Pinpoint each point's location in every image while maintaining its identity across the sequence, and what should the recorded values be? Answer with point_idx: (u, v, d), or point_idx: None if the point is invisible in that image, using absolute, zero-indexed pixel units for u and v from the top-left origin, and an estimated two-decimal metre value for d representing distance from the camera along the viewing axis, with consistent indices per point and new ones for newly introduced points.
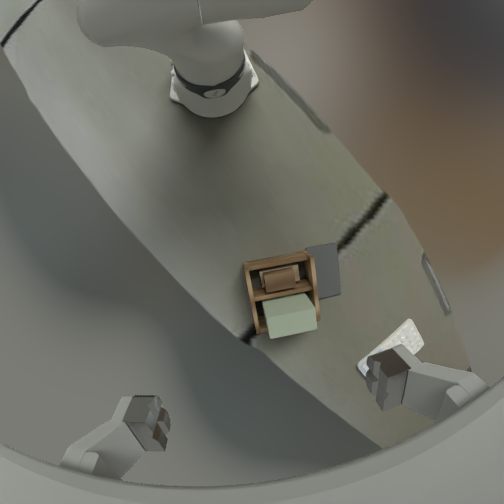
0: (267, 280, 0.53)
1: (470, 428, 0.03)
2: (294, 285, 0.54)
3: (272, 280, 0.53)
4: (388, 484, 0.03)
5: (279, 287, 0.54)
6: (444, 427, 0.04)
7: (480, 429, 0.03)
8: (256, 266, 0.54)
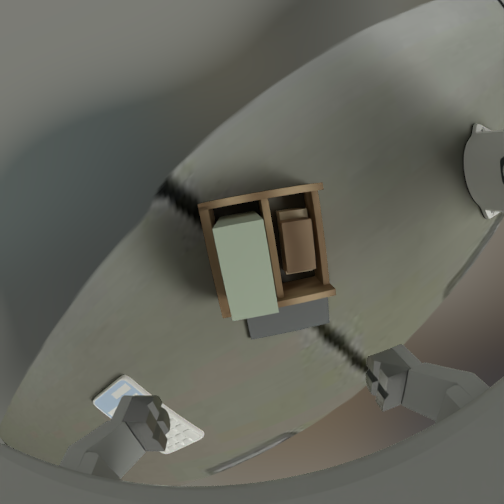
0: (303, 225, 0.31)
1: (470, 428, 0.03)
2: (290, 270, 0.32)
3: (302, 233, 0.31)
4: (388, 484, 0.03)
5: (289, 245, 0.31)
6: (444, 427, 0.04)
7: (480, 429, 0.03)
8: (317, 203, 0.32)
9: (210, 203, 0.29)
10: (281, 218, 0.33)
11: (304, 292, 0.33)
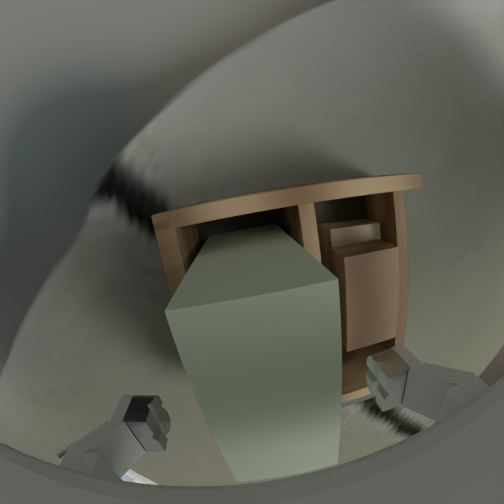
0: (385, 260, 0.14)
1: (470, 428, 0.03)
2: (352, 346, 0.15)
3: (381, 276, 0.14)
4: (388, 484, 0.03)
5: (355, 301, 0.14)
6: (444, 427, 0.04)
7: (480, 429, 0.03)
8: (402, 214, 0.15)
9: (180, 213, 0.12)
10: (334, 242, 0.16)
11: (365, 376, 0.16)
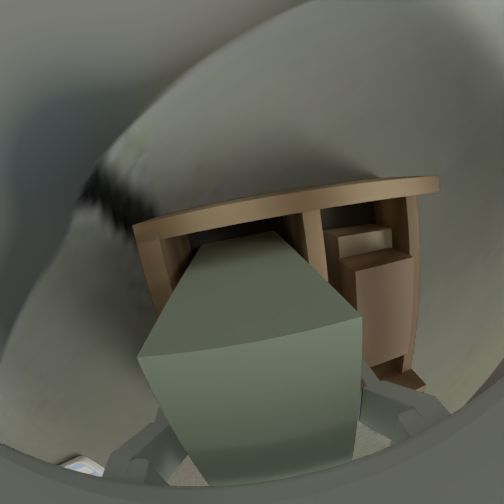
0: (399, 273, 0.12)
1: (470, 428, 0.03)
2: None
3: (395, 289, 0.12)
4: (388, 484, 0.03)
5: (367, 318, 0.13)
6: (444, 427, 0.04)
7: (480, 429, 0.03)
8: (415, 220, 0.13)
9: (165, 223, 0.10)
10: (342, 251, 0.14)
11: None
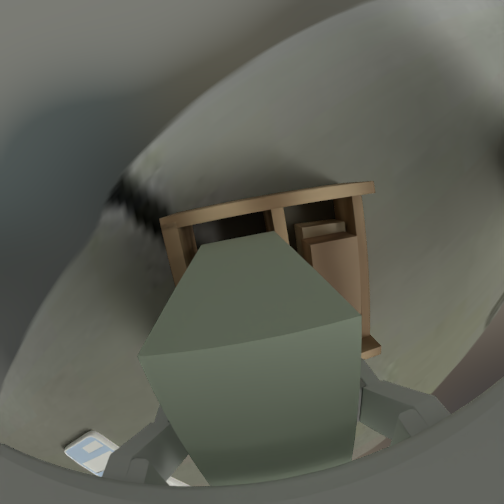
0: (345, 247, 0.18)
1: (470, 428, 0.03)
2: None
3: (343, 260, 0.18)
4: (388, 484, 0.03)
5: None
6: (444, 427, 0.04)
7: (480, 429, 0.03)
8: (361, 214, 0.19)
9: (181, 217, 0.16)
10: None
11: None
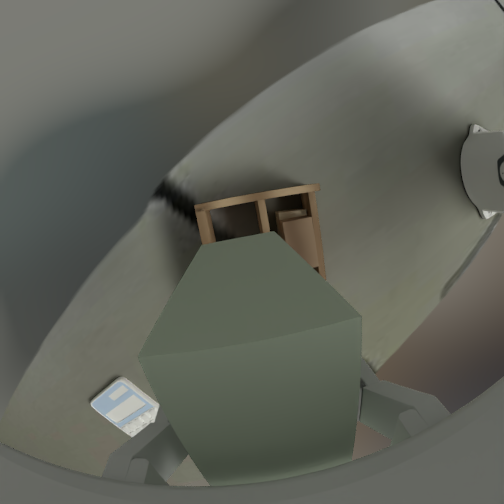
0: (304, 223, 0.31)
1: (470, 428, 0.03)
2: None
3: (303, 231, 0.31)
4: (388, 484, 0.03)
5: (291, 244, 0.31)
6: (444, 427, 0.04)
7: (480, 429, 0.03)
8: (314, 204, 0.32)
9: (207, 204, 0.29)
10: (280, 219, 0.33)
11: None
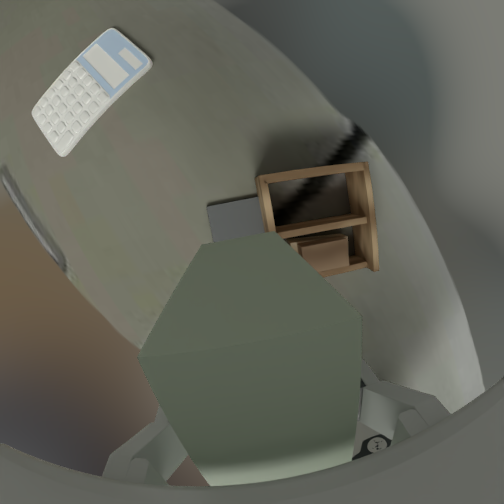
0: (344, 259, 0.33)
1: (470, 428, 0.03)
2: (304, 249, 0.32)
3: (337, 258, 0.33)
4: (388, 484, 0.03)
5: (328, 247, 0.33)
6: (444, 427, 0.04)
7: (480, 429, 0.03)
8: (356, 268, 0.35)
9: (368, 173, 0.30)
10: None
11: None
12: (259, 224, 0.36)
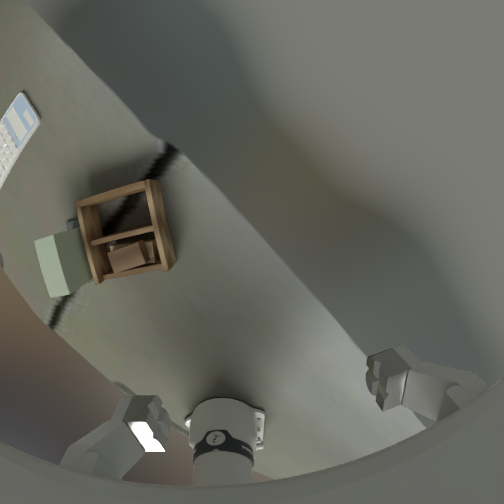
0: (139, 258, 0.40)
1: (470, 428, 0.03)
2: (109, 254, 0.39)
3: (134, 258, 0.40)
4: (388, 484, 0.03)
5: (124, 250, 0.39)
6: (444, 427, 0.04)
7: (480, 429, 0.03)
8: (157, 268, 0.41)
9: (149, 188, 0.37)
10: (147, 243, 0.42)
11: (95, 261, 0.40)
12: None
